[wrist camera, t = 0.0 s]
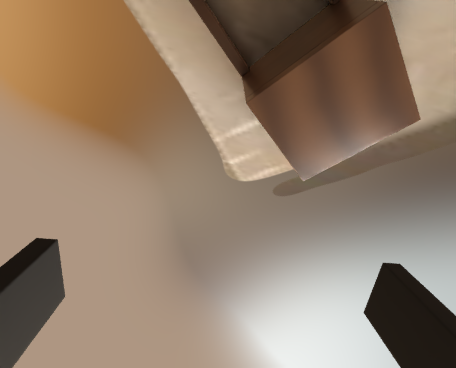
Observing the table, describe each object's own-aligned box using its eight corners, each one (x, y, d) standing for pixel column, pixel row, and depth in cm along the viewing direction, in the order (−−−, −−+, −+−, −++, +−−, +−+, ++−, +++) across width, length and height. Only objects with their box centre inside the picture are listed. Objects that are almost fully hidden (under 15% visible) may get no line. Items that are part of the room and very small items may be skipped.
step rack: (218, -325, 16) (211, -607, 9) (374, 87, 33) (421, 119, 25) (97, -136, 21) (22, -205, 13) (287, 140, 38) (302, 181, 30)
